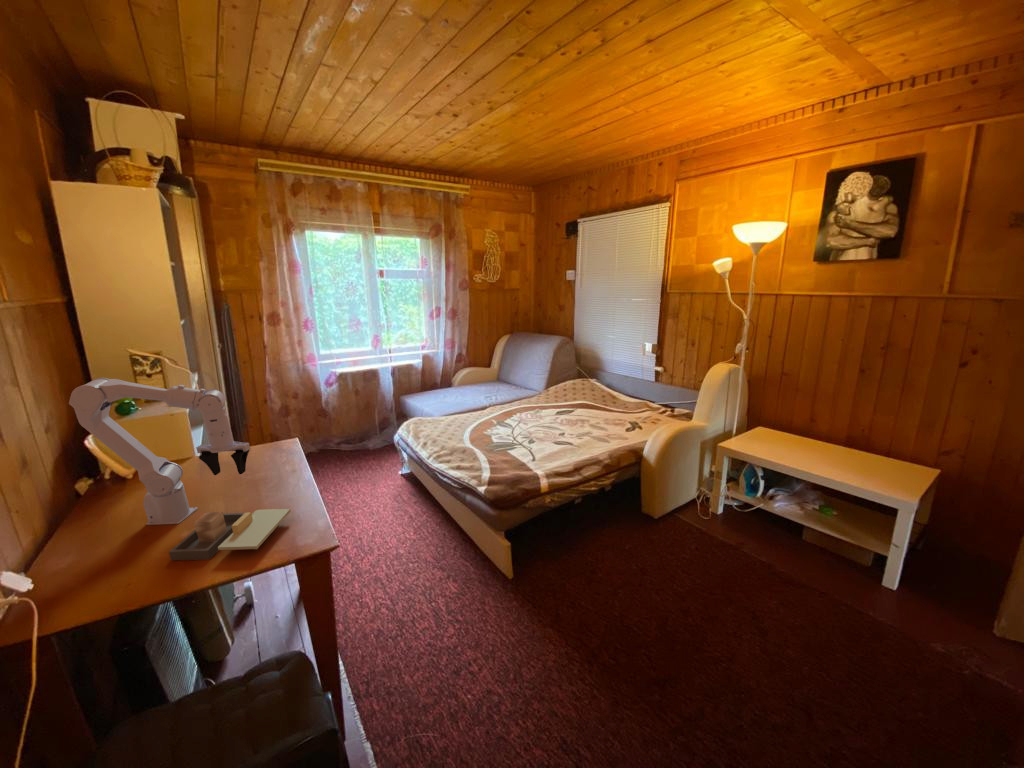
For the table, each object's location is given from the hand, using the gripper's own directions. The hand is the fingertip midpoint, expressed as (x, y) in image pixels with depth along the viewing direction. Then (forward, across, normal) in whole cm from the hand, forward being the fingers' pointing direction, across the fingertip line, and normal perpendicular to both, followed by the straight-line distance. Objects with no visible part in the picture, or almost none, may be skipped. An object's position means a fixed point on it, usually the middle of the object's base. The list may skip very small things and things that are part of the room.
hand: (229, 473), depth 127 cm
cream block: (+10, +4, -17) cm, 21 cm away
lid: (+8, +17, -18) cm, 26 cm away
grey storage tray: (+10, +4, -18) cm, 21 cm away
